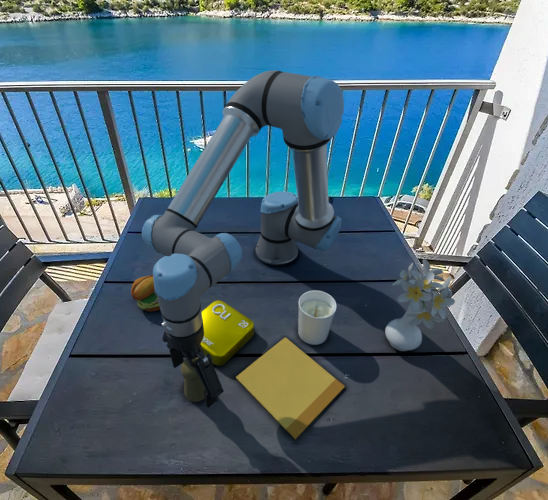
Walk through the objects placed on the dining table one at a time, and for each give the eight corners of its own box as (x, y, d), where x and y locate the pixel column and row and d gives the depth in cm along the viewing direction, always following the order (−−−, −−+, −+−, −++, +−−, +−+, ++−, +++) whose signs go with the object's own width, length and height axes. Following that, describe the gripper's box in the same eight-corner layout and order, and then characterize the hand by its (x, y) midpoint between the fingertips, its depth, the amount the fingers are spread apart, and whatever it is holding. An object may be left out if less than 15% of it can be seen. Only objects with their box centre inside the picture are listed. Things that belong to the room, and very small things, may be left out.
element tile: (180, 338, 96) (178, 327, 93) (218, 307, 105) (217, 296, 102) (219, 369, 89) (218, 358, 86) (257, 333, 98) (257, 321, 95)
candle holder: (332, 324, 100) (339, 295, 93) (327, 351, 93) (333, 322, 86) (299, 315, 103) (303, 286, 95) (291, 341, 96) (294, 312, 88)
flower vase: (383, 371, 88) (410, 304, 73) (372, 316, 103) (393, 249, 87) (436, 377, 87) (476, 310, 72) (418, 320, 101) (448, 253, 86)
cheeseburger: (165, 316, 102) (151, 292, 97) (134, 317, 106) (119, 293, 100) (178, 292, 110) (165, 268, 104) (149, 293, 113) (135, 270, 108)
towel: (285, 338, 97) (285, 336, 96) (344, 387, 85) (345, 386, 85) (235, 378, 87) (235, 376, 87) (295, 439, 75) (295, 438, 75)
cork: (185, 379, 87) (179, 353, 80) (209, 377, 87) (205, 351, 80) (183, 402, 82) (176, 376, 75) (209, 400, 82) (204, 374, 76)
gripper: (136, 299, 74) (153, 358, 87) (205, 377, 60) (213, 434, 73) (166, 283, 78) (178, 341, 91) (238, 352, 64) (241, 410, 77)
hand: (194, 382), depth 82 cm, fingers open, 13 cm apart
